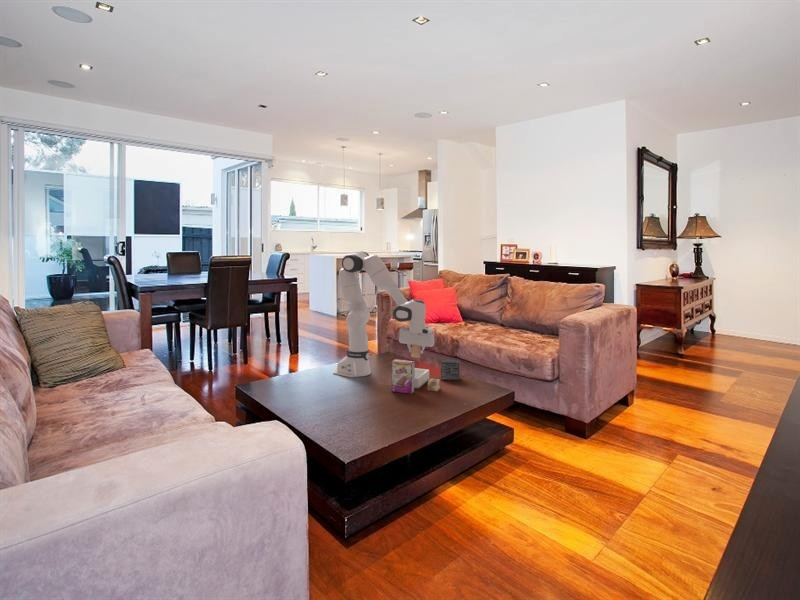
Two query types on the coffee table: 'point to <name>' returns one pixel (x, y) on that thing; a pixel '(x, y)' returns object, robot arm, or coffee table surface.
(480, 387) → the coffee table surface
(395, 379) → the candy bar box
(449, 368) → the small box
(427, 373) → the white tote
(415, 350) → the peach capsule
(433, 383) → the maple cube
